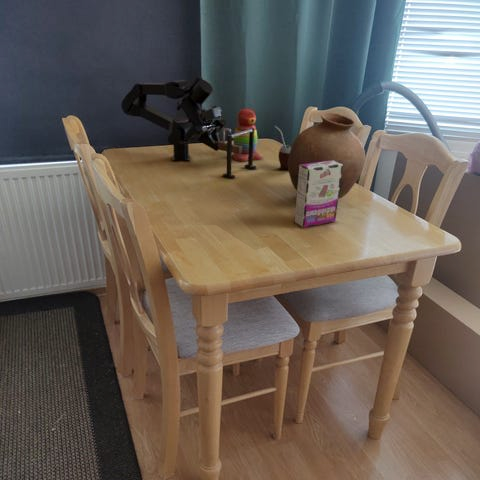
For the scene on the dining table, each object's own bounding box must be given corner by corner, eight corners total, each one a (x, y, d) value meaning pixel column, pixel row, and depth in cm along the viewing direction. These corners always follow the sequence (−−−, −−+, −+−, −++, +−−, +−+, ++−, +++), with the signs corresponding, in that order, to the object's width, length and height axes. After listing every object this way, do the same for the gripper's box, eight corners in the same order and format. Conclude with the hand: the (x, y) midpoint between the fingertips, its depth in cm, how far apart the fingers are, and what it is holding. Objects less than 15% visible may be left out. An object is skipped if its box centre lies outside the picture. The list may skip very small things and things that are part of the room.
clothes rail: (222, 176, 168) (223, 134, 160) (246, 166, 179) (248, 127, 171) (232, 179, 166) (233, 136, 158) (255, 168, 177) (257, 128, 169)
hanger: (211, 148, 174) (211, 126, 169) (214, 147, 175) (214, 125, 171) (238, 154, 168) (239, 131, 164) (241, 153, 170) (242, 130, 165)
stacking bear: (239, 162, 184) (241, 112, 174) (227, 155, 191) (228, 107, 181) (263, 159, 188) (266, 110, 178) (250, 152, 196) (252, 105, 186)
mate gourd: (300, 170, 178) (304, 127, 169) (283, 173, 174) (287, 129, 165) (287, 165, 183) (291, 123, 174) (271, 168, 179) (274, 125, 170)
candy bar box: (325, 216, 140) (332, 159, 131) (335, 222, 136) (344, 164, 127) (292, 222, 136) (298, 163, 127) (302, 228, 132) (309, 168, 123)
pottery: (283, 185, 163) (290, 105, 149) (351, 188, 162) (364, 108, 148) (286, 209, 144) (294, 121, 130) (363, 212, 144) (380, 124, 130)
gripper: (190, 100, 160) (217, 140, 161) (222, 94, 173) (247, 131, 174) (173, 122, 167) (198, 160, 169) (205, 114, 181) (228, 149, 182)
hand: (219, 149), depth 173 cm, fingers closed on hanger, 2 cm apart
